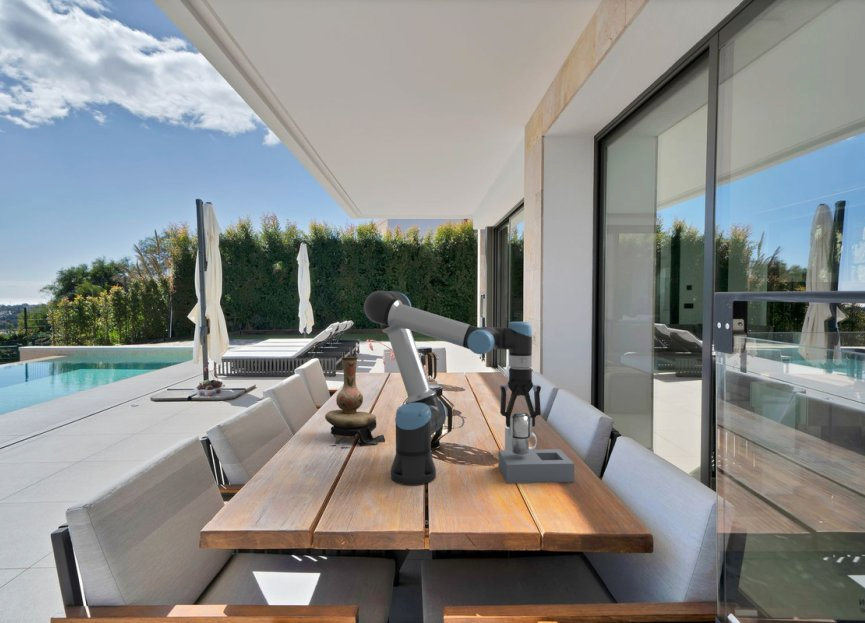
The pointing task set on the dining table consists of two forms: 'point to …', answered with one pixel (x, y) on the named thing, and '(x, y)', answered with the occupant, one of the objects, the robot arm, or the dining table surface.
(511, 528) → the dining table surface
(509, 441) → the mug
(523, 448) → the silver can
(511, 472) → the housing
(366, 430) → the vase
